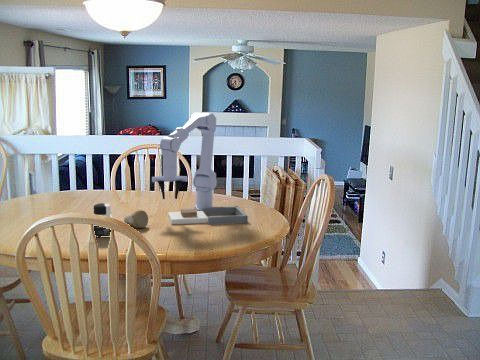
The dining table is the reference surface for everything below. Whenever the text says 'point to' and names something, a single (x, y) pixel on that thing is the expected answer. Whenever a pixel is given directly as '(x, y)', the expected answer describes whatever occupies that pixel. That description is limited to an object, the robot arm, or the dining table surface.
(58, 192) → the dining table surface
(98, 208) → the medicine bottle
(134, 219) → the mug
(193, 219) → the board
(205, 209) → the box
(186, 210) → the tile
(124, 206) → the dining table surface
